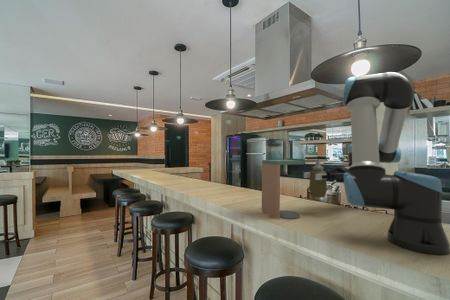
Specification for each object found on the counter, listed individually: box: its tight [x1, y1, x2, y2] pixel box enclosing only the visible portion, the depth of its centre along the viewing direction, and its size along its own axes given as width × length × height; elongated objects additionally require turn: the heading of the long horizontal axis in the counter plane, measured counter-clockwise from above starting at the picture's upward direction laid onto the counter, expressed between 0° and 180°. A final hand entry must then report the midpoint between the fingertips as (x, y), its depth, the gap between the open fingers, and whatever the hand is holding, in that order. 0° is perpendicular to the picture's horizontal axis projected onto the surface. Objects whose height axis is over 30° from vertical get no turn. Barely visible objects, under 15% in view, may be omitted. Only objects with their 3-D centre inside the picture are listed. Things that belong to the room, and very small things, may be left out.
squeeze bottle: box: [308, 158, 328, 198], centre depth 105 cm, size 8×8×18 cm
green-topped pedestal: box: [261, 157, 306, 220], centre depth 105 cm, size 12×16×26 cm
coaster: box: [280, 209, 301, 220], centre depth 102 cm, size 12×12×1 cm
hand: (310, 176), depth 103 cm, fingers closed on squeeze bottle, 6 cm apart
